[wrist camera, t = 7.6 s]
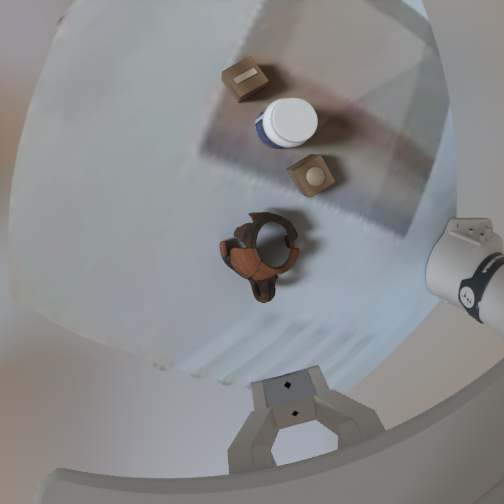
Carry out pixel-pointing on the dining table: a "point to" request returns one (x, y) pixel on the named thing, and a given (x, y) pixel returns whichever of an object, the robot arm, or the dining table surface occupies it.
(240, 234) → the pottery mug
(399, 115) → the dining table surface
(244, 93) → the walnut block bar
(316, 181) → the walnut block dot
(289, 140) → the pill bottle
